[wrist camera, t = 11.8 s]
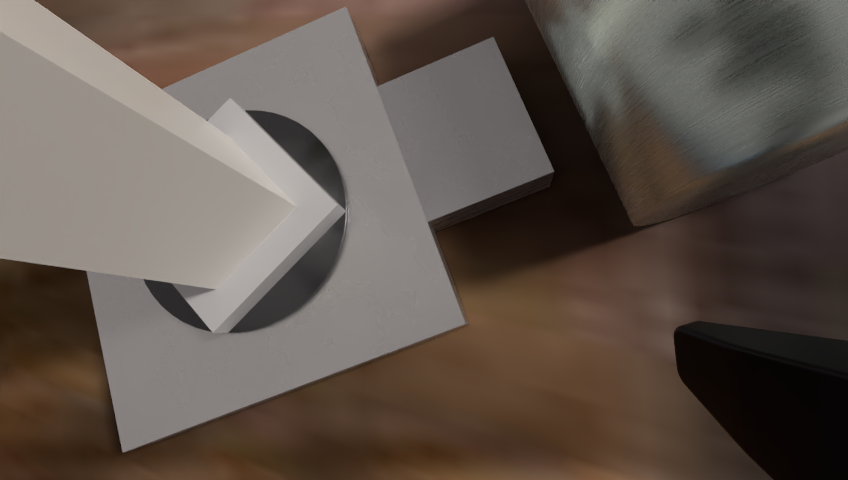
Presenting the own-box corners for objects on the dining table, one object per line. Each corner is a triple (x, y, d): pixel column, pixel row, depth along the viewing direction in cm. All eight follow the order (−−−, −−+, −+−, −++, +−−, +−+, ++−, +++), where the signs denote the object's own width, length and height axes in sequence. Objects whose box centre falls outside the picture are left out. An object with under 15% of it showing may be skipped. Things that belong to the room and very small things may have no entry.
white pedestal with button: (346, 211, 19) (-135, -146, 5) (228, 332, 19) (-623, 337, 5) (243, 109, 20) (-349, -389, 6) (133, 220, 20) (-717, -31, 6)
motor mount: (878, 171, 18) (1306, -14, 8) (158, 441, 21) (-147, 537, 11) (679, -150, 22) (817, -539, 12) (87, 115, 24) (-189, -27, 15)
